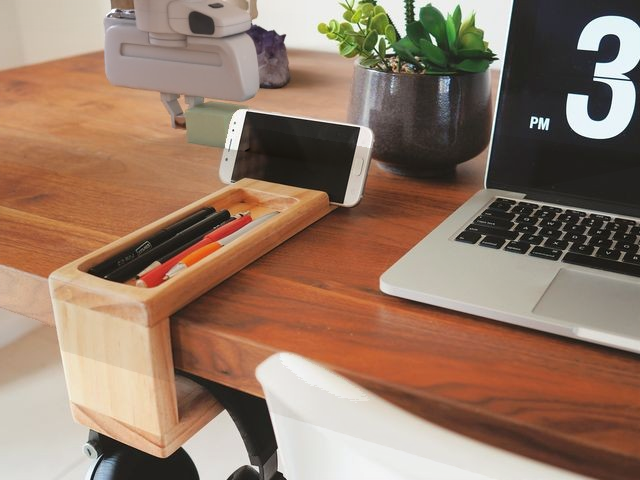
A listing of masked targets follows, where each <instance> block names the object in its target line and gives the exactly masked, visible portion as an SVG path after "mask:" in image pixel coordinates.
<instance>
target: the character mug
mask: <svg viewBox="0 0 640 480" xmlns="http://www.w3.org/2000/svg"><path fill="white" fill-rule="evenodd" d="M223 1H225V2H227V3H229V4H231V5H234V6H236V7H238V8H240V9H243V10H245V11H247V12H248V13H249V14H250V16H251V26H252V25H254V24H253V20H255V19H257V18H258V17H259V11H258V7H257V2H258V0H223Z"/></svg>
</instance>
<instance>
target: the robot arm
mask: <svg viewBox="0 0 640 480" xmlns="http://www.w3.org/2000/svg"><path fill="white" fill-rule="evenodd" d="M133 1H134V9H129V10H125V9H122V8H113V9H112V10H110V11H109V12H108V13H106V15H105V17H104V18H103V28H104V29H103V30H104V42H103V43H104V44H103V45H104V46H103V47H104V48H103V49H104V50H103V51H104V52H103V53H104V72H105V76H106V78H107V81H108V82H109V84H111V86H112V87H118V88H125V89H132V90H140V91H141V90H142V91H148V92H149V91H150V92H156V93H160V101H161V102H162V104H163V106H164V108H165V110H166V112H167V113H168V114H169V116H170V121H171V127H172V129H174V130H182V131H186V120H185V112H184V110H183V109H182V106H181V104H180V102H179V100H178V99H180V98H181V96H184V97H183V98H184V104H185V105H188V106H187V109H190V108H193V107H195V106H198V105H201V104H203V103H205V99H212V100H218V101H226V102H236V103H244V102H246V101H248V100H252V99H253V98H255V97H256V95H257V93H258V92H259V90H260V87H259V69H258V60H257V53H256V48H255V45H254V42H253V40H252V39H251V37H250V36H249V35H248V34H246V33H244V31H247V30H249V29H250V27H251V16H250V14H249V13H248V12H247V11H245V10H243V9H240V8H238V7H236V6H234V5H231V4H229V3H227V2H225V1H223V0H133ZM112 16H113V17H112Z"/></svg>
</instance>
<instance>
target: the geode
mask: <svg viewBox="0 0 640 480" xmlns="http://www.w3.org/2000/svg"><path fill="white" fill-rule="evenodd" d="M244 33H246V34H248V35H249V36H250V37H251V39H252V40H253V42H254V45H255V48H256V53H257V60H258V69H259V88H262V89H276V88H277V89H278V88H283V87H284V86H286V85H287V84H288V83H289V82H290V81H291V73H290V66H289V65H290V60H289V56H288V51H287V47H286V46H287V45H286V44H285V40H286V37H287V33H283V34H279V33H278V32H277V31H276V30H275V29H271V30H267V29H265V28H263V27H262V26H261V25H258V24H257V23H256V24H255V23H254V24H253V25H252V26H251V27H250V29H249V30H247V31H244Z"/></svg>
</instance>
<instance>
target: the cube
mask: <svg viewBox="0 0 640 480" xmlns="http://www.w3.org/2000/svg"><path fill="white" fill-rule="evenodd" d="M239 109H248V110H249V106H248V105H244V104H238V103H237V104H236V103H231V102H222V101H216V100H208V101H206V102H204V103H203V104H201V105H198V106H195V107H193V108H190V109H188V108H187V109H185V110H184V113H185V120H186V130H185V131H186V139H187V140H186V141H187V144H192V145H198V146H203V147H205V146H206V147H210V148H216V149H217V148H218V149H224V148H225V143H226V138H227V134H228V129H229V124H230V121H231V119H232V116H233V114H234V113H235V112H236V111H237V110H239ZM224 150H225V149H224Z"/></svg>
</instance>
